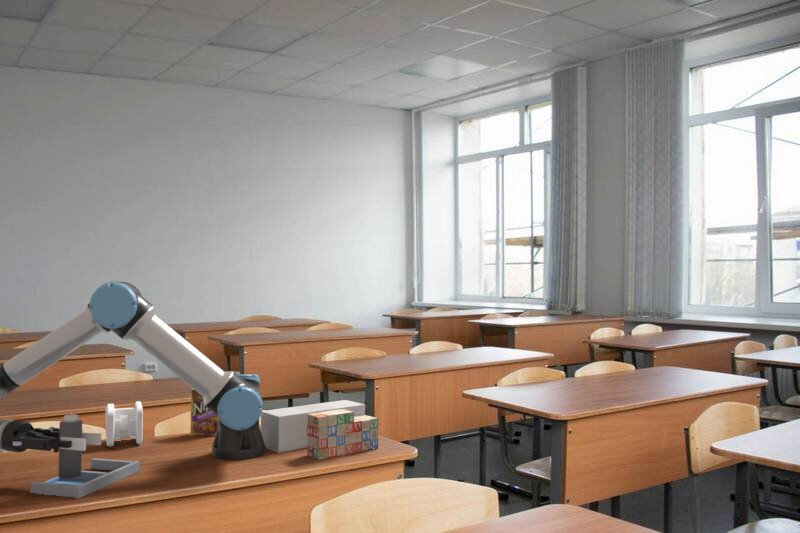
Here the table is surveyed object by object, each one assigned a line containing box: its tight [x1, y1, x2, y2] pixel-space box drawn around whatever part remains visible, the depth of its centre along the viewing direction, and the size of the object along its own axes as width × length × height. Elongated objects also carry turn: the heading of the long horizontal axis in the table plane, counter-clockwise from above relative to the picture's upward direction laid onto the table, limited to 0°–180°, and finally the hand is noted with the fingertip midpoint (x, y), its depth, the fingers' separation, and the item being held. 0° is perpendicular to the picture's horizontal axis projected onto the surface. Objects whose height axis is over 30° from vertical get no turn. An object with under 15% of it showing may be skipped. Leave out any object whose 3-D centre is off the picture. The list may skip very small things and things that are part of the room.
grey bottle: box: [58, 413, 83, 478], centre depth 173 cm, size 5×5×14 cm
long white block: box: [260, 399, 366, 453], centre depth 223 cm, size 32×11×11 cm, turn 131°
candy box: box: [189, 387, 218, 437], centre depth 230 cm, size 9×4×15 cm, turn 96°
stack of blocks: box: [306, 409, 379, 461], centre depth 210 cm, size 21×6×12 cm, turn 129°
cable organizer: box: [104, 400, 144, 448], centre depth 219 cm, size 15×11×12 cm
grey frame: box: [29, 458, 141, 499], centre depth 178 cm, size 14×24×2 cm, turn 167°
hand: (92, 442), depth 171 cm, fingers closed on grey bottle, 5 cm apart
